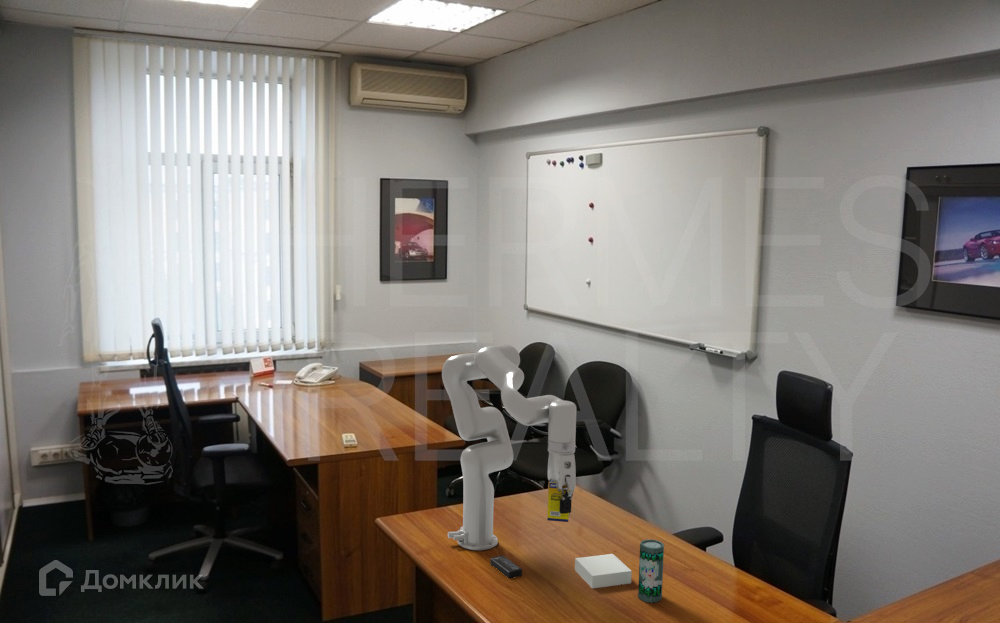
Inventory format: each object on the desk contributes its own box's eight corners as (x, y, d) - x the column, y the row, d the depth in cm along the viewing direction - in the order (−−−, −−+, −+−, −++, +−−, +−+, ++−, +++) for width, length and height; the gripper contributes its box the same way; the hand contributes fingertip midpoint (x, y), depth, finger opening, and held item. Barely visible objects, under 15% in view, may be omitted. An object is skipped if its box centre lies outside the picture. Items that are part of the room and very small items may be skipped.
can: (636, 600, 206) (638, 546, 204) (640, 590, 211) (642, 538, 210) (659, 604, 204) (661, 550, 202) (662, 594, 209) (665, 541, 208)
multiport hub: (509, 580, 217) (509, 572, 217) (489, 565, 226) (489, 557, 226) (522, 576, 219) (522, 569, 219) (502, 562, 228) (502, 554, 228)
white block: (592, 589, 212) (592, 575, 212) (574, 571, 223) (575, 558, 223) (631, 584, 216) (631, 570, 215) (612, 566, 227) (612, 553, 227)
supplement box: (568, 522, 210) (570, 483, 209) (546, 520, 211) (548, 482, 210) (570, 514, 216) (571, 477, 215) (548, 513, 217) (550, 475, 216)
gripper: (586, 454, 204) (584, 517, 206) (562, 436, 221) (560, 495, 223) (560, 456, 202) (558, 520, 204) (537, 438, 218) (535, 497, 220)
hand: (559, 507), depth 213 cm, fingers closed on supplement box, 7 cm apart
